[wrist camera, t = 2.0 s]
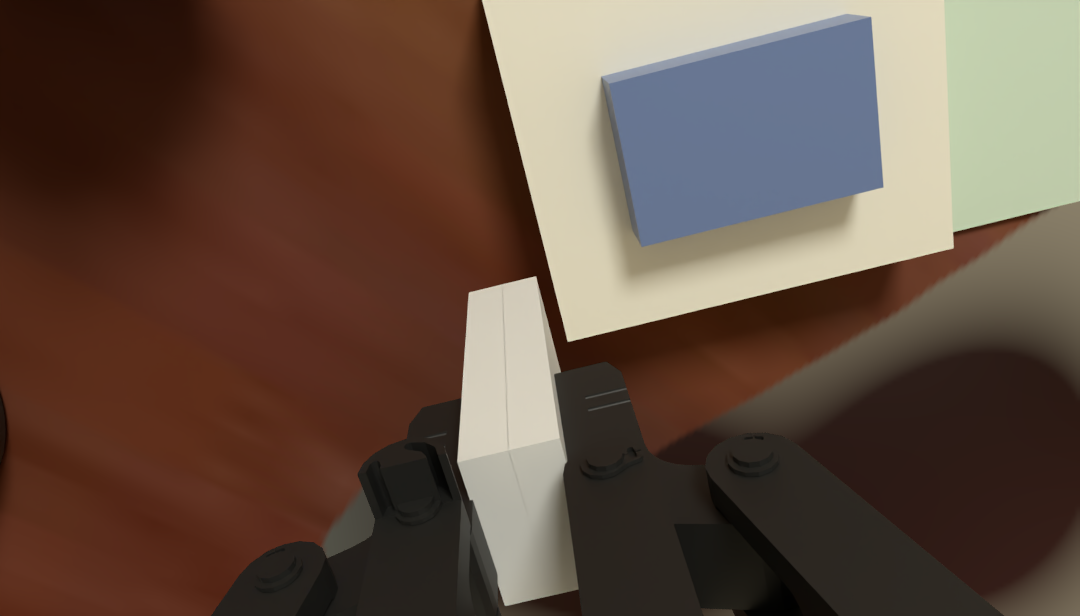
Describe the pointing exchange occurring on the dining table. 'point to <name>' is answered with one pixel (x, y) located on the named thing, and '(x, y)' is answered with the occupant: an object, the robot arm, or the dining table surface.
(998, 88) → the mat
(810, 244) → the cream flat block
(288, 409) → the dining table surface
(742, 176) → the blue rectangular block
